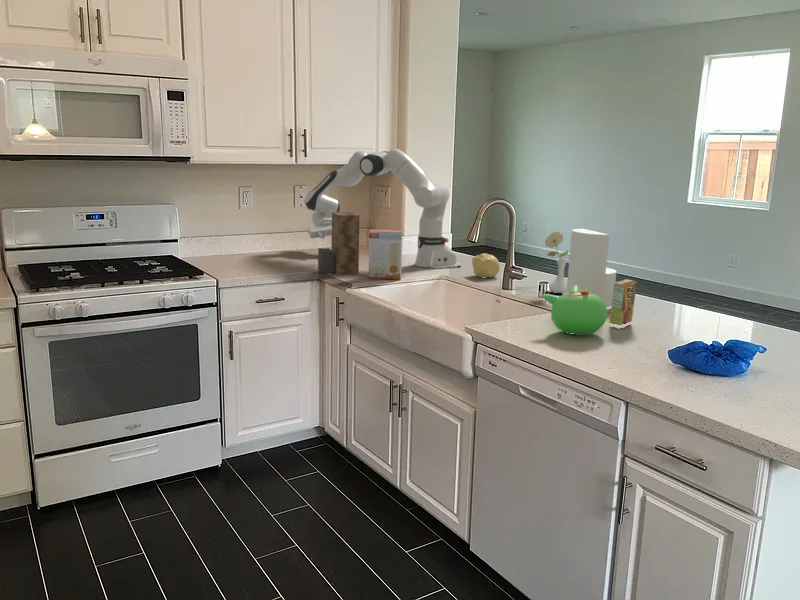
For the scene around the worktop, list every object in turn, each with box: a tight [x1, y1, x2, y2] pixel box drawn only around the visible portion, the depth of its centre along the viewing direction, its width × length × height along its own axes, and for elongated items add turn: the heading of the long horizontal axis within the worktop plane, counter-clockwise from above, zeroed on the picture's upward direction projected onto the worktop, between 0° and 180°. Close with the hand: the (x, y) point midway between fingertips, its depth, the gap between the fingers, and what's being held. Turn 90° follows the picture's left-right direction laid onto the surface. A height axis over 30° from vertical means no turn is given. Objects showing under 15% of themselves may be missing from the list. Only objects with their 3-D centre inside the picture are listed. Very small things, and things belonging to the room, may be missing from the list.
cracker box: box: [368, 229, 403, 281], centre depth 290 cm, size 14×6×21 cm, turn 84°
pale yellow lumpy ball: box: [471, 252, 500, 278], centre depth 302 cm, size 12×12×11 cm
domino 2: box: [318, 249, 331, 273], centre depth 301 cm, size 5×2×10 cm, turn 107°
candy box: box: [609, 278, 638, 325], centre depth 224 cm, size 9×4×15 cm, turn 137°
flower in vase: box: [544, 231, 569, 293], centre depth 271 cm, size 13×11×25 cm
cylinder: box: [566, 228, 617, 307], centre depth 251 cm, size 17×17×28 cm
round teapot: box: [541, 285, 608, 335], centre depth 213 cm, size 18×17×15 cm
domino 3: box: [320, 251, 334, 275], centre depth 298 cm, size 5×2×10 cm, turn 107°
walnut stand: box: [330, 211, 360, 275], centre depth 303 cm, size 10×12×26 cm
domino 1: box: [317, 247, 331, 270], centre depth 305 cm, size 5×2×10 cm, turn 107°
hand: (332, 235), depth 337 cm, fingers open, 8 cm apart
